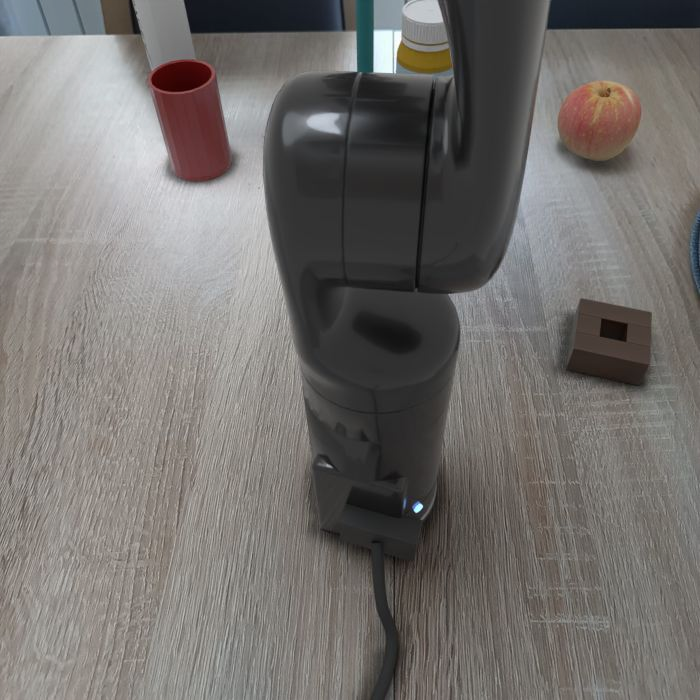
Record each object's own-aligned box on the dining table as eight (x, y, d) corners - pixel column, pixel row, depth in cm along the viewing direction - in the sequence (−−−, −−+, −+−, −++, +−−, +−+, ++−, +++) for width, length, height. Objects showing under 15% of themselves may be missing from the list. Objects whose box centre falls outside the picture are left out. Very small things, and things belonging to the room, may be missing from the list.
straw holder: (638, 385, 57) (650, 364, 54) (565, 369, 58) (573, 348, 56) (641, 333, 60) (652, 311, 58) (572, 319, 62) (580, 297, 59)
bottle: (384, 141, 81) (387, 17, 69) (408, 113, 84) (414, -9, 73) (437, 156, 78) (448, 30, 67) (459, 126, 82) (473, 2, 71)
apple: (611, 182, 75) (633, 118, 68) (539, 156, 78) (553, 94, 72) (638, 144, 79) (661, 82, 73) (568, 122, 82) (584, 60, 76)
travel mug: (205, 67, 93) (172, -95, 78) (193, 92, 89) (156, -75, 73) (162, 66, 94) (121, -96, 78) (148, 90, 90) (102, -75, 74)
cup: (216, 186, 76) (196, 98, 67) (161, 175, 77) (135, 88, 69) (241, 151, 80) (226, 64, 72) (188, 141, 82) (167, 55, 73)
